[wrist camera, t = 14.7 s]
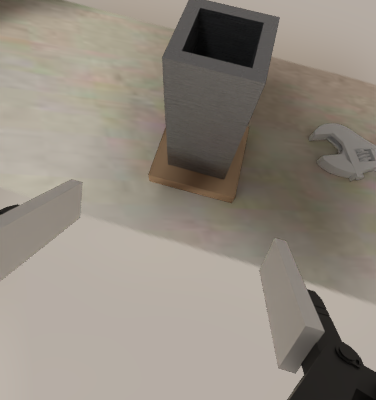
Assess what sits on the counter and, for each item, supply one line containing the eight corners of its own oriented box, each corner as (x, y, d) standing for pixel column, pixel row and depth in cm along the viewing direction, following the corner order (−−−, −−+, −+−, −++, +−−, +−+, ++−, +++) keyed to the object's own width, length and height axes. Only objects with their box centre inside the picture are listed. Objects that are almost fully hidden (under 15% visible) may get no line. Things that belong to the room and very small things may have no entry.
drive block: (150, 183, 26) (143, 151, 20) (172, 119, 29) (173, 76, 24) (230, 204, 26) (247, 179, 20) (244, 137, 29) (262, 99, 23)
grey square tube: (167, 164, 25) (162, 57, 14) (184, 119, 27) (190, -4, 16) (224, 179, 24) (265, 83, 13) (235, 133, 27) (279, 17, 16)
